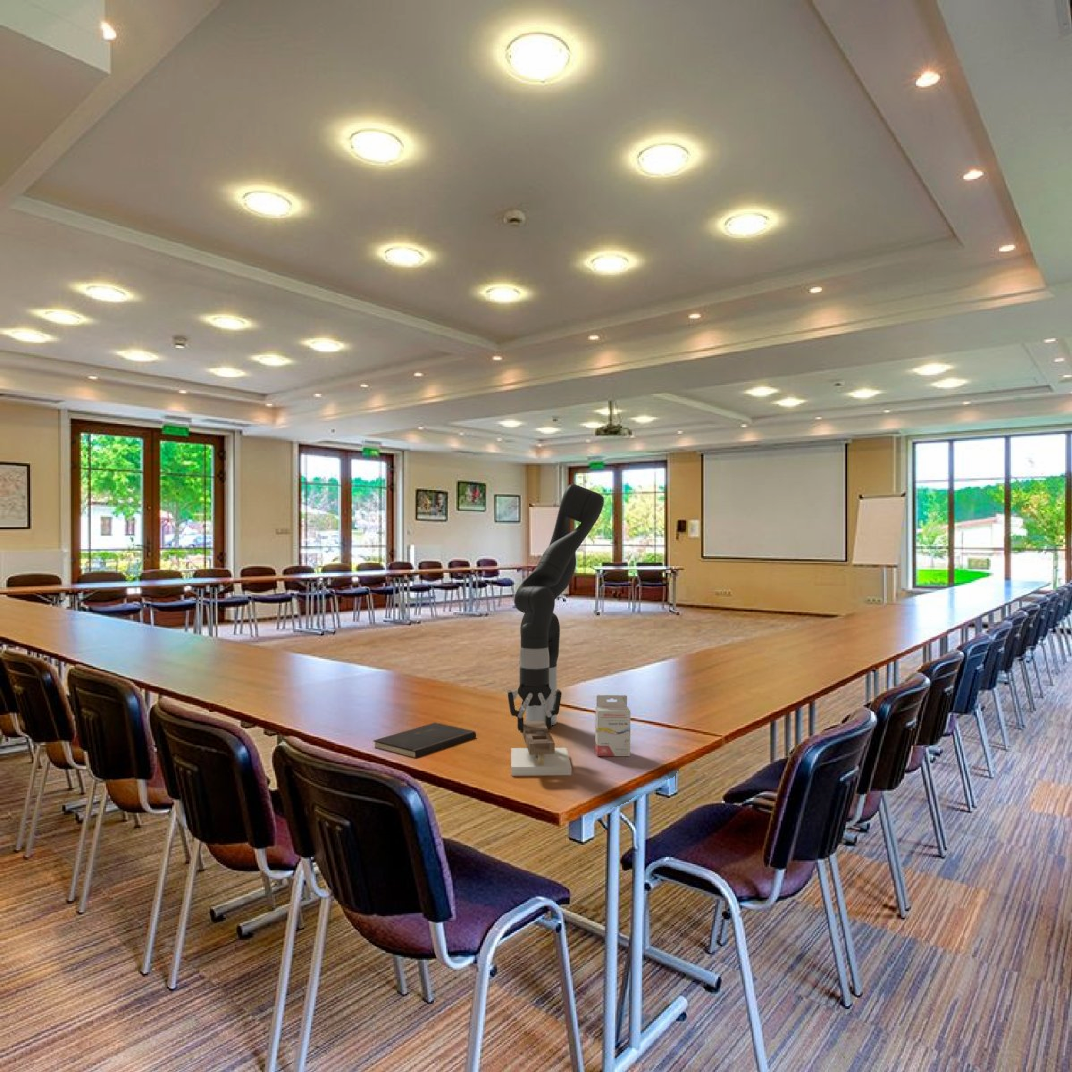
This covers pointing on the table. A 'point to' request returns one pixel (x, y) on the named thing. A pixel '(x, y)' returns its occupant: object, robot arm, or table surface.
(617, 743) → the ink cartridge box
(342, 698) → the table surface
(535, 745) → the walnut bar
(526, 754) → the post base
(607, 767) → the table surface
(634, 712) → the table surface
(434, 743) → the hardcover book
